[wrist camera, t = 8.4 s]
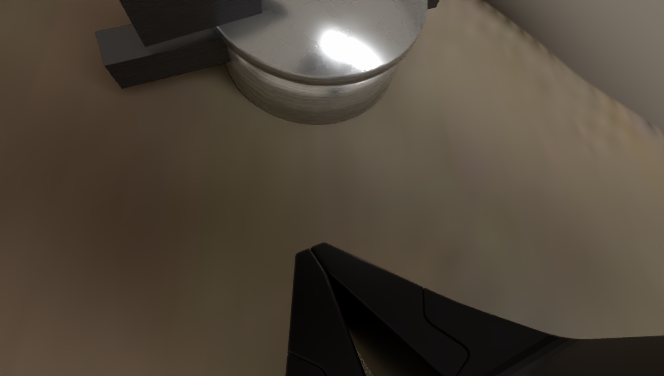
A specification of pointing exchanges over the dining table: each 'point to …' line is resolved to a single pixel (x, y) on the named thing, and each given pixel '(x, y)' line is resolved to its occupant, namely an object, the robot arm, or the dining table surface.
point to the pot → (236, 75)
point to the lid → (293, 33)
